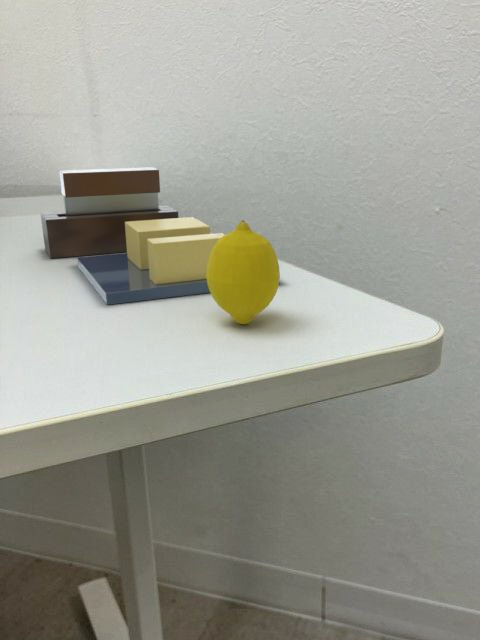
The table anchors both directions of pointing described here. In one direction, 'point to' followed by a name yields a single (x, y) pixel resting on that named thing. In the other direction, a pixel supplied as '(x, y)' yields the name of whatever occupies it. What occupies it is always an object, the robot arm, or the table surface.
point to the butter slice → (180, 257)
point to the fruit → (243, 273)
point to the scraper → (110, 190)
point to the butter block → (157, 235)
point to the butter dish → (131, 280)
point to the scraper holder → (92, 231)
